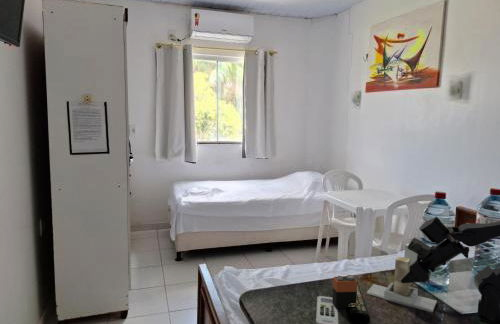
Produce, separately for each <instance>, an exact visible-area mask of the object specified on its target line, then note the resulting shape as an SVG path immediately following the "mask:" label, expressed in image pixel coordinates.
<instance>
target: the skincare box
mask: <svg viewBox="0 0 500 324" xmlns="http://www.w3.org/2000/svg"><path fill="white" fill-rule="evenodd" d="M409 244H410V243H406V244H404V252H403V253H404V255H403V257H404V258H409V259H411V261H410V265H411V264H412V263H413V262H415V261H416V260H417V255H418V254H417V253H415V252H413V251H412V250H409V249H408V248H407V247H408V245H409Z"/></svg>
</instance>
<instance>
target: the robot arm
mask: <svg viewBox="0 0 500 324" xmlns="http://www.w3.org/2000/svg"><path fill="white" fill-rule="evenodd" d="M419 231H420V232H421V233H422V234H423V235H424V236H425V237H426V238H427V239H428V240H429V241H430V242H431V243H432V244H434V243H435V244H436V245H431V246H429V245H427V244H426V243H425V242H423V241H421V240H419V239H418V238H417V237H413V238H412V239H411V240H410V242H409V243H408V244H409V245H408V247H407V248H408V249H409V250H412V251H413V252H415V253H417V254H418V255H417V260H416V261H415V262H413V263H412V264H411V265H410V267H409V268H410V271H409V272H408V273H407V274H406V275H405V276H404V277H403V278H402V279H401V282H402V283H409V284H410V283H423V284H425V283H427V282H429V281H430V279H431V276H432V273H434V272H435V271H437V269H438V268H440V267H441V266H446V265H447V263H448V262H450V261H451V260H453V259H454V258H456V257H458V256H459V255H463V257H465V259H468V258H469V253H470V247H476V246H479V245H481V244H485V243H487V242H488V241H490V240H492V239H494V238H499V237H500V220H498V221H494V222H493V221H492V222H489V223H487V222H486V223H482V222H481V223H477V222H476V223H475V222H470V223H462V224H460V225H459V226H446V225H445V224H444V223H443V222H442V221H441V220H440V218H439V217H438V216H434V217H433V218H431V219H429V220H425V222H423V224H421V226H419ZM461 242H462V243H461ZM476 273H477V274H476V275H475V276H474V277H473V278H474V281H473V282H474V285H475V287H476V288H477V290H478V292H479V294H480V295H481V296H480V299H478V304H477V312H476V313H477V316H478V320H480V321H483V322H487V323H491V324H500V266H499V267H496V268H491V267H490V265H487V266H485V267H484V268H483V269H481V270H478V271H476Z"/></svg>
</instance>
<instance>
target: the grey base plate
mask: <svg viewBox="0 0 500 324" xmlns="http://www.w3.org/2000/svg"><path fill="white" fill-rule="evenodd" d="M418 291H419V288H416V287H411V286H409V292H408V296H406V295H402V294H398V293H395V292H394V282H392V281H391V282H390V283H389V284H388V286H387V287H386V286H383V285H380V284H379V285H378V284H375V283H373V284H372V285H371V287H370V288H369V289H368V290H367V291H366V295H369V296H373V297H376V298H380V299H383V300H385V301H388V302H391V303H396V304H399V305H402V306H406V307H410V308H415V309H418V310H422V311H425V312H429V313H433V312H434V310H435V308H436V306H437V300H436V299H432V298H428V297H424V296H420V295H418V293H419V292H418Z"/></svg>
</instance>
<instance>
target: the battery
mask: <svg viewBox="0 0 500 324" xmlns="http://www.w3.org/2000/svg"><path fill="white" fill-rule="evenodd" d="M332 282H333V283H332V299H331V300H332V304H333V306H334V308H336V309H348V308H347V306H348V304H350V303H356V304H357V294H358V292H357V290H358V281H357V280H356V279H355V277H354V275H351V274H347V275H346V276H343V275H342V276H341V275H338V276H334V277H333V280H332Z"/></svg>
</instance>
